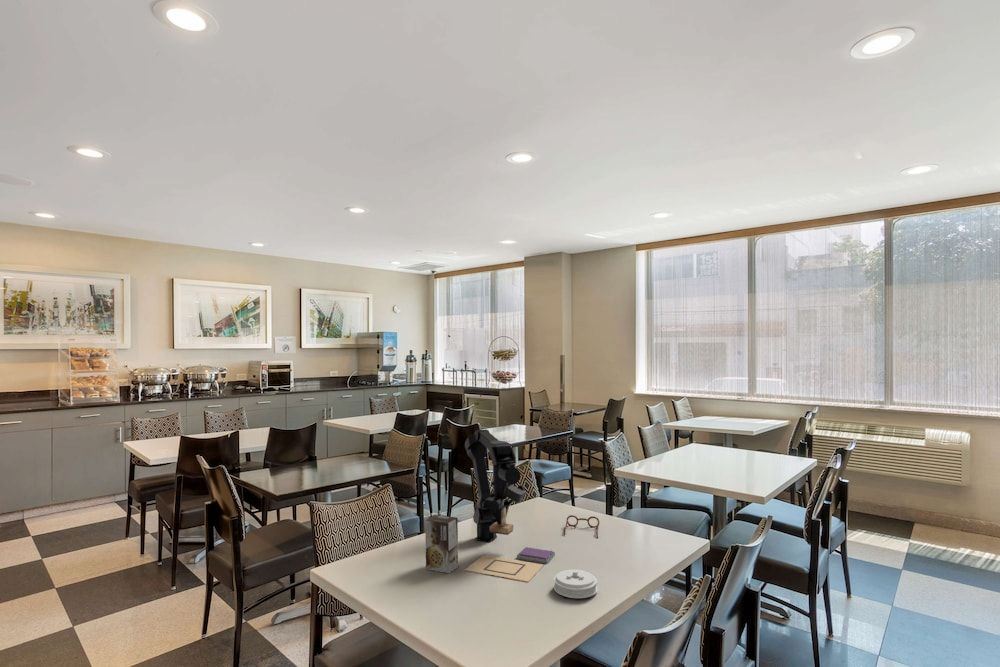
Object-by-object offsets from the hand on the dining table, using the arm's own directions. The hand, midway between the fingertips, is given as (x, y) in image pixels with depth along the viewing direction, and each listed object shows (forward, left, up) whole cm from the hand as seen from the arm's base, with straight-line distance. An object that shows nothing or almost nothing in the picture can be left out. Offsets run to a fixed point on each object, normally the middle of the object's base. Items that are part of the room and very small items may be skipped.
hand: (501, 523), depth 189 cm
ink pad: (+13, 0, -10) cm, 16 cm away
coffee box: (-12, -21, -10) cm, 26 cm away
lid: (+33, -20, -11) cm, 40 cm away
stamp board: (+7, -13, -10) cm, 18 cm away
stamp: (0, 0, -3) cm, 3 cm away
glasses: (+20, +32, -11) cm, 39 cm away
